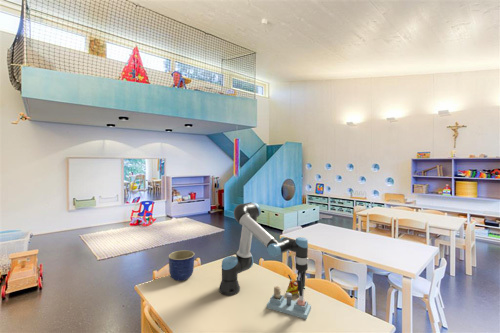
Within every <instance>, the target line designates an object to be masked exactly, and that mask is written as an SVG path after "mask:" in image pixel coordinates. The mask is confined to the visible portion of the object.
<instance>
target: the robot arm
mask: <svg viewBox="0 0 500 333" xmlns="http://www.w3.org/2000/svg"><path fill="white" fill-rule="evenodd" d="M261 211H262V209H261V207H260V206H259V204H258V203H256V202H253V201H250V202H245V203H240V204H237V205H236V206H235V208H234V209H233V217H234V219H235V220H236V222H237V224H239V225H241V226H242V227H241V232H240V240H239V248H238V250H237V251H236V255H234V256H233V255H231V256H229V255H228V256H226V257H224V258H223V259H222V260H221V281H220V284H219V288H218V289H219V291H218V292H219V293H220V295H223V296H234V295H237V294H238V293H240V291H241V290H240V288H241V287H240V284H239V280H238V275H239V274H241V273H243V272H246V271H248V270H250V268H252V267H253V265H254V257H253V255H252V253H251V247H252V240H253V236H254V237H255V238H256V239H257V240H258V241H259V242H260V243H261V244H262V245H264V246H265V247H266V250H267V254H268V255H269V256H270V257H277V256H280V255H282V254H284V253H287V252H288V251H289V252H293V253H295V269H296V270H297V271H298V272H297V276H296V280H297V283H298V291H299V292H298V293H299V296H298V299H299V300H300V301H303V300H305V299H304V296H305V295H304V294H305V293H304V292H305V290H306V288H305V286H306V272H307V271H308V267H309V266H308V265H309V264H308V263H309V262H308V261H309V260H310V259H309V258H308V256H309V255H308V252H309V251H308V250H309V244H308V243H309V242H308V239H307V238H306V237H302V236H301V237H300V236H297V237H296V238H295V239H294V238H290V237H285V236H283V237H280V238H279V240H277V239H276V238H275V237H273V235H272V234H270V232H268V231H266V229H264V227H262V226H261V224H259V223H258V222H257V218H258V217H260V216H261Z"/></svg>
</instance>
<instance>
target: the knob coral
mask: <svg viewBox="0 0 500 333" xmlns="http://www.w3.org/2000/svg"><path fill="white" fill-rule="evenodd" d="M297 299H298V305H301V306H305V301H306V300H305V299H304V300H303V301H300V300H299V298H297Z"/></svg>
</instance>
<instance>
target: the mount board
mask: <svg viewBox="0 0 500 333" xmlns="http://www.w3.org/2000/svg"><path fill="white" fill-rule="evenodd" d="M298 299H299V298H297V299H296V300H293V299H291V306H287V297H285V295H282V294H281V299H280V300H278V299H274V293H273V294H272V295H271V297H270V299H269V300H268V302H267V303H266V308H267V309H269V310H274V311H277V312H280V313H282V314H283V313H284V314H286V315H290V316H293V317H298V318H300V319H304V320H307V319H308V317H309V314H310V312H311V309H312V305H311V304H309V301H307V300H305V306H301V305H298Z"/></svg>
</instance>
